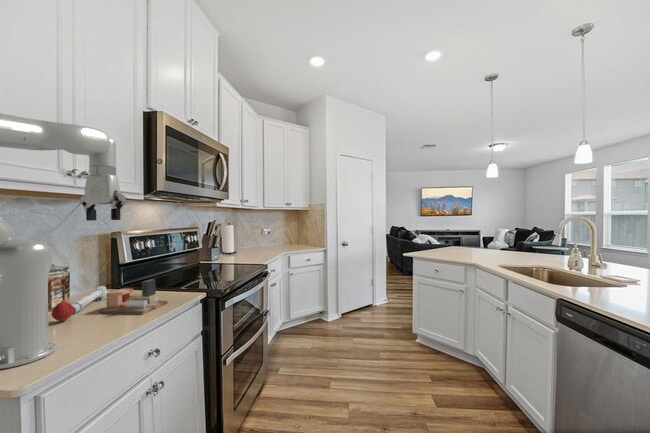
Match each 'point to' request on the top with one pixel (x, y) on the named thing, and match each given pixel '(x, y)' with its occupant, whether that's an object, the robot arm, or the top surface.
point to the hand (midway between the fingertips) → (103, 220)
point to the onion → (62, 311)
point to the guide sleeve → (140, 303)
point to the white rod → (90, 298)
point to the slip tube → (146, 291)
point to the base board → (132, 309)
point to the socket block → (119, 297)
